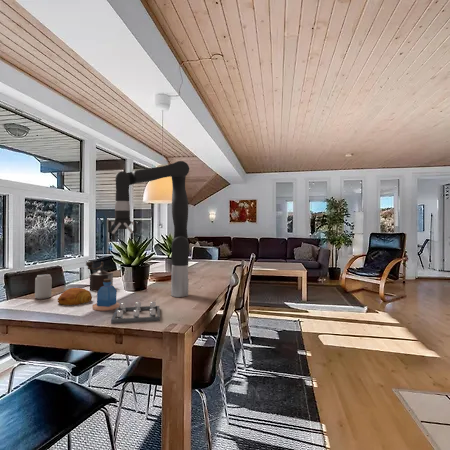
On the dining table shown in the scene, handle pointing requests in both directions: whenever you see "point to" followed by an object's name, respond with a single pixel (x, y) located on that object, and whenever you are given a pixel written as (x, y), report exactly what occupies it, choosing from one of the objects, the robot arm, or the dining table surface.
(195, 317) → the dining table surface
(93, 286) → the black coffee grinder
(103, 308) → the peach round disc
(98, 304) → the perfume bottle
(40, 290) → the can
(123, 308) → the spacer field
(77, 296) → the croissant
